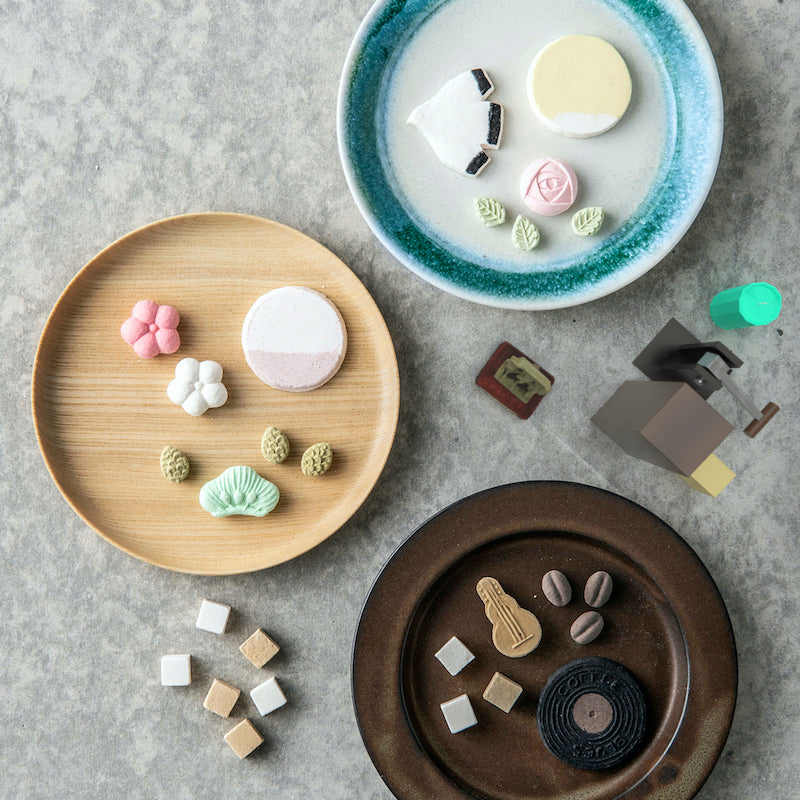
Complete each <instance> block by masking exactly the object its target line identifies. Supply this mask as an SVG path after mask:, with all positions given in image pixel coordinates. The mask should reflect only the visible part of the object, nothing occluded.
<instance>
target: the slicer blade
mask: <svg viewBox="0 0 800 800" xmlns="http://www.w3.org/2000/svg"><path fill="white" fill-rule="evenodd" d="M697 364H700V365H701V366H702V367H703V368H704V369H705V370H707V371H708V372H709V373H710V374H711V375H712V376H713V377H714V378H716V379H717V380H719V381H720V382H721V384H722V385H723V387H724V388H725V389H726V390H727V391H728V392H729V394H730V395H732V397H733V398H734V399H735V400H736V401H737V403H739V404H740V406H741V407H742V408H743V409H744V410H745V411H746V412H747V413H748V414H749V416H750V417H751V419H752V420H751V421H750V422H749V423H748V424H747V425H746V427H745V428H744V429H743V430H742V432H743V434H744V435H745V436H747V437H748V438H750V439H752V440H753V439H754V438H755V437H756V436H757V435H758V434H759V433H760V432H761V431H763V429H764V427H766V426H767V424H769V422H770V421H772V419H773V418H774V417H775V416H776V415H777V413H778V412H780V410H781V408H780V406H779V405H778V404H776V403H775V402H773V401H768V403H766V405H764V407H763V408H762V409H761V410H760V409H759V408H758V407H757V406H756V405H755V403H754V402H753V401H752V400H751V399H750V398H749V397H748V396H747V394H745V392H744V391H743V390H742V389H741V388H740V387H739V385H738V384H737V383H736V382H735V381H734V380H733V379H732V377H731V376H730V375H728V374H727V371H728V370H729V369H730V367H729V366H728V365H727V364H726V363H725V362H724V361H723V360H722V358H721V357H720V356H719V355H716V354H713V353H710V352H707V353H706V354H705V355H704V356H703V357H702V358H701V359H700V360H699V361H698V363H697Z"/></svg>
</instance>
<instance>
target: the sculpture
mask: <svg viewBox="0 0 800 800" xmlns="http://www.w3.org/2000/svg"><path fill="white" fill-rule="evenodd" d="M555 381H556V378H555V376H554V375H552V374H551V373H550V372H548V371H547V370H546V369H544V368H543V367H542V366H541V365H539V364H538V363H537V362H535V361H534V359H531V358H530V357H529V356H527V354H525V353H524V352H522V351H521V350H520V349H518V348H517V347H516V346H514V345H513V344H512V343H510V342H508V341H501V343H500V344H499V345H498V346H497V348H496V349H495V350H494V352H493V353H492V355H491V356H490V357H489V359H488V361H486V363H485V364H484V365H483V367H482V368H481V370H480V371H479V372H478V374H477V375H476V377H475V381H474V383H475V384H476V385H477V387H479V388H480V389H482V390H483V391H484V392H485V394H487V395H488V396H490V397H491V398H492V399H493V400H494V401H495V402H496V403H498V404H499V405H501V406H502V407H503V408H505V409H506V410H508V411H509V412H510V413H511V414H512V415H515V416H516V417H517V418H519V419H520V420H522V421H527V420H529V419H530V417H532V415H533V414H534V412H535V411H536V409H537V407H539V405H540V403H541V402H542V400H543V399H544V397H545V396H546V395H548V394H549V393H551V392H552V390H553V387H552V386H553V385H554V384H555Z"/></svg>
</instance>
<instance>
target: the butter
mask: <svg viewBox="0 0 800 800" xmlns="http://www.w3.org/2000/svg"><path fill="white" fill-rule="evenodd" d="M677 475H678V476H679V477H680V478H681V479H683V480H684V482H686V483H687V484H688V486H690V487H691V488H692V489H693V490H695V491H697V492H700V493H702V494H704V495H707V496H709V497H711V498H714V499H715V498H717V496H719V494H721V492H722V491H723V490H724V489H725V488H726V487H727V486H728V485H729V484H730V483H731V482H732V481H733V480H734V479H735V477H736V476H737V474H736V473H735V472H734V471H733V470H732V469H730V467H729V466H728V465H727V464H725V463H724V462H723V461H722V460H721V459H720V458H719V457H717V456H716V455H715V454H714V453H713V452H712V453H711V454H710V455H709V456H708V457H707V458H706V460H705V461H704V462H703V463H702V464H701V465H700V466H699V467H698V468H697V469H696V470H695V471H694V472H693V473H692V474H691V475H690V476H689V477H685V476H683V475H680V474H677Z"/></svg>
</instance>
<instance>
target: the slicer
mask: <svg viewBox="0 0 800 800" xmlns="http://www.w3.org/2000/svg"><path fill="white" fill-rule="evenodd" d="M707 352H710V353H713V354H716V355H719V356H720V357H721V358H722V360H723V361H724V362H725V363H726V364H727V365H728V366H729V367H730V369H729V370H728V371H727V374H728V375H729V376H730V375H731V374H732V372H734V370H733V369H740V368H741V367H742V366H743V365H744V364H745V362H744V361H742V359H740V358H739V357H738V355H736V354H735V353H734V351H733V350H732V349H731V348H730V347H729V346H726V344H724V343H723V342H722V341H721V340H715V341H714V340H713V341H704V342H702V341H700V339H698V338H697V337H696V336H695V335H694V334H692V332H691V331H689V330H688V329H687V328H686V327H684V325H682V323H680V321H678V320H677V319H676V318H675V317H671V318H670V319H669V321H668V322H667V323H666V324H665V325H664V326H663V327H662V329H660V331H659V332H658V333H657V334H656V335H655V336H654V337H653V338H652V339H651V341H650V342H649V343H648V344H647V345H646V346H645V347H644V349H643V350H642V351H641V352H640V353H639V354H638V355H637V356H636V357H635V359H634V360H632V362H631V364H633V365H634V366H635V367H636V368H637V369H638V370H640V372H642V374H644V375H645V376H646V377H647V378H648V379H649V380H650V381H662V382H686V383H687V384H688V385H689V386H690V387H691V388H692V389H693V390H695V391H696V392H697V393H698V394H699V395H700V396H701V397H702V398H703V399H704V400H705V401H706V402H707V400H708V399H709V398H711V396H712V395H713V393H714V392H719V391H720V390H722V388H723V387H724V385H723V384H722V383H721V382H720V381H719V380H717V379H716V378H714V377H713V376H712V375H711V374H710V373H709V372H708V371H707V370H705V369H704V368H703V367H702V366H701V365H700V364H697V363H698V361H699V360H700V359H701V358H702V357H703V356H704V355H705V354H706V353H707Z"/></svg>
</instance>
